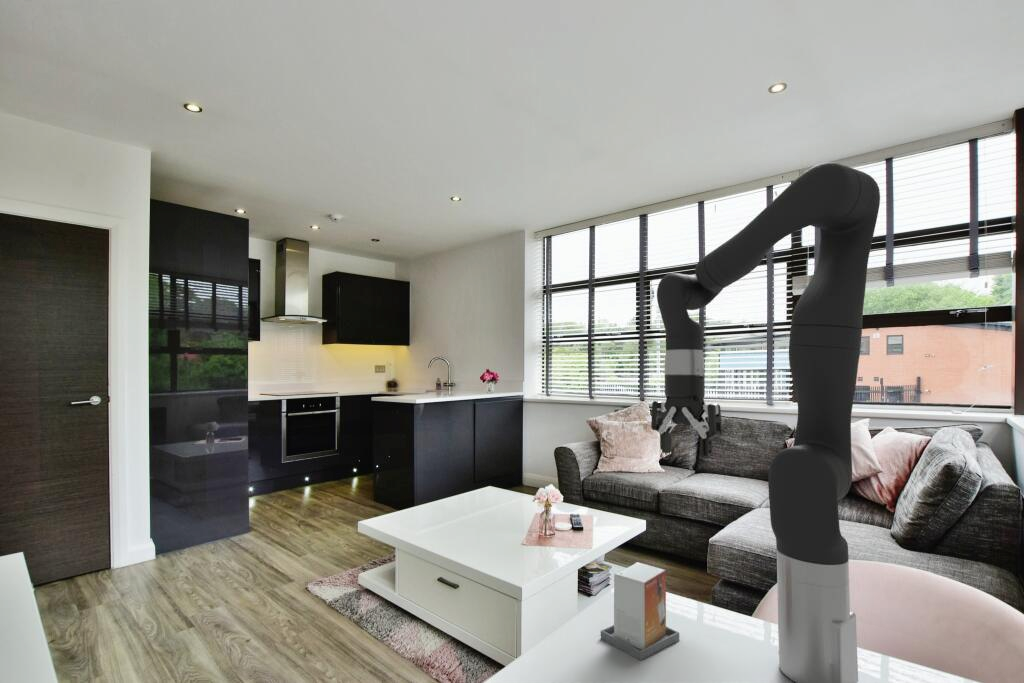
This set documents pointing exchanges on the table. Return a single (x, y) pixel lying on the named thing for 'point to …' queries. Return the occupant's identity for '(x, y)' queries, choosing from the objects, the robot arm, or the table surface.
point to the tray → (661, 643)
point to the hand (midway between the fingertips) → (685, 455)
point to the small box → (640, 605)
